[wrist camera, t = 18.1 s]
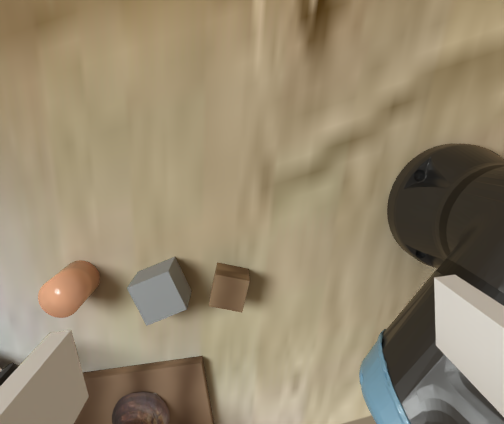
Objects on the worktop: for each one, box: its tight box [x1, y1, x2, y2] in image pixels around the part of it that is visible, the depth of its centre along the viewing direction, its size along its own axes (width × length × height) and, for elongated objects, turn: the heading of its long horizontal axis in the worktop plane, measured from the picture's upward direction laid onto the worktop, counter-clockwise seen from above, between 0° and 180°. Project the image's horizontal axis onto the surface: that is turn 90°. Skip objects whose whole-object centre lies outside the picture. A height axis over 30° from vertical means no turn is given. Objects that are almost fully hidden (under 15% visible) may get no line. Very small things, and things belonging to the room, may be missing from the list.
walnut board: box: [74, 356, 214, 424], centre depth 49 cm, size 18×16×2 cm
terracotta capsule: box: [38, 261, 100, 318], centre depth 43 cm, size 4×4×6 cm
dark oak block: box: [209, 263, 250, 312], centre depth 45 cm, size 4×4×4 cm
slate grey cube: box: [127, 257, 192, 326], centre depth 44 cm, size 5×5×5 cm
